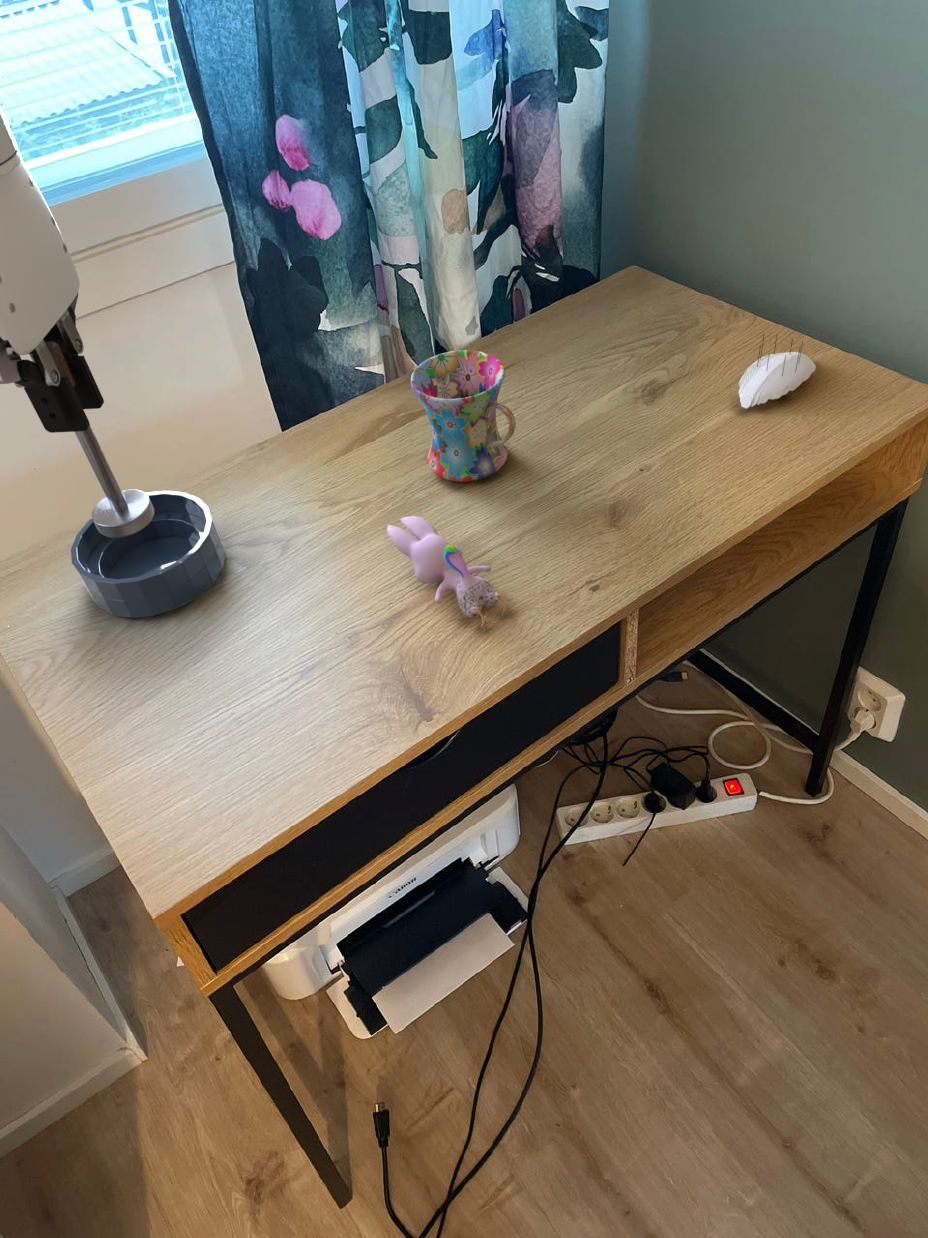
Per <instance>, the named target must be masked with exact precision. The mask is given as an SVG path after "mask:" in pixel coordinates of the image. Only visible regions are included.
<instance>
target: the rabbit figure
mask: <svg viewBox="0 0 928 1238" xmlns="http://www.w3.org/2000/svg"><path fill="white" fill-rule="evenodd" d="M399 520H400V522H401V523H402V524H403V525H404V527H405V528H406V529H407V530H408V531H409V532H410V533H411V534H410V533H409V532H407V531H406V530H405V529H403V528H402V527H398V526H395V525H393V524H389V525H387V527H386V528H387V530H386V531H387V534H388V537H389V538H390V540H391V541H392V543H393V544H394V546H395V547H396V549H397V550H398V551H399V552H400V553H402V554H403V555H405V556H406V557H408V558H409V559H410V561H411V563H412V567H413V572H414V576H415V579H416V580H417V581H418V582H420V583H423V584H426V585H431V584H434V583H440V584H439V586H438V588H437V589H436V592H435V597H434V602H435V603H436V604H440V603H441V602H442V598H443V597H442V595H443V594H444V593H445V592H446V591H448V590H449V591H451V592H453V593H454V594H456V597H457V601H458V606H459V608H460V610H461V612H462V613H463V614H464V616H466V617H467V618H469V619H475V618H478V617H480V618H481V624H480V625H481V626H480V629H481V630H484V631H485V630H486V626H487V625H488V624H489V625H491V623H490V622H489V621H488V620H487V616H486V615H483V613H482V612H483V608H488V609H489V608H493V607H495V606H496V604H497V603H498V601H500V603H502V605H503V610H502V612H501V616H504V614H505V615H508V611H509V612H511V611H512V610H511V609H510V607H509V603H508V601H505V600H504V598H503V597H502V596H503V595H502V594H501V593H499V592H498V591H497V590H496V589H495V588H494V586H493V585H492V584H491V582H489V580H487V579H486V578H484V577H481V576H478V575H473V574H475V573H478V572H479V573H480V572H484V573H489V572H491V570H492V567H491V566H490V565H473V566H469V567H467V564H466V562H465V559H463V551H462V549H460V548H459V547H458V546H455V545H454V544H452V543H451V542H450V541H448V540H447V539H446V538H445V537H443V536H441V535H439V534H438V530H437V528H436V527H435V526H434V525H433V524H432V523H431V522H430V521H428V520H427V519H426V518H423V517H421V516H416V515H411V516H404V517H403V516H402V517H401V518H400V519H399Z"/></svg>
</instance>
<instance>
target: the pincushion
mask: <svg viewBox="0 0 928 1238" xmlns="http://www.w3.org/2000/svg"><path fill="white" fill-rule="evenodd" d="M777 339H778V335H775V342H774V347H776V345H777ZM764 340H765V336H763V337H762V342H764ZM793 341H794V338H793V337H792V338H791V344H790V349H789V351H788V352H776V348H774V349H773V353H769V354H767V355H764V356H763V355H762V354H763V350H761V349H763V348H764V343H762V344H761V345H759V349H758V350H759V352H758V355H760V356H761V357H760V356H758V358H757V360H755V362H753V363H752V364H751V365H749V366H748V367H747V368H746V370H745V371H744V372H743V374H742V376H741V377H740V379H739V381H738V384H737V385H738V387H739V390H738V392H737V394H738V395H739V402H740V407H741V408H743V409H748V408H749V407H751V408H753V407H755V406H756V405H758V406H759V405H760V404H762V405H764V404H766V403H767V402H768V400H773V401H774V400H779V399H780V398H781V397H782V396H785V395H787V394H788V393H789V392H794V391H795V390H796V389H797V388H798V387H800V386H801V385H802V383H804V382H805V381H807V380H808V379H810V377H811V375H812V374H813V373H814V372H815V371H816V368H817V366H816V364H815V363H814V361H813V360H812V359H811V358H810V357H809V356H807V355H806V354H804V353H802V350H803V343H804V341H803V340H802V341H801V345H800V348H799V349H798V352H797V351H792V345H793ZM775 352H776V353H775Z"/></svg>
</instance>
